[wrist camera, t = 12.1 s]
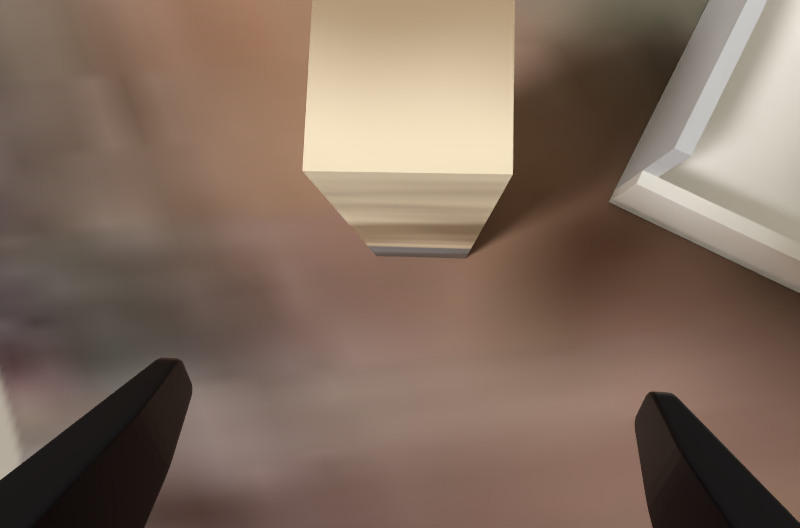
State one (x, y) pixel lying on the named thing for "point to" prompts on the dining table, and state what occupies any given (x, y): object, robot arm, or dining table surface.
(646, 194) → the white open box
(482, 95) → the birch block
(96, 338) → the dining table surface
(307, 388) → the dining table surface
